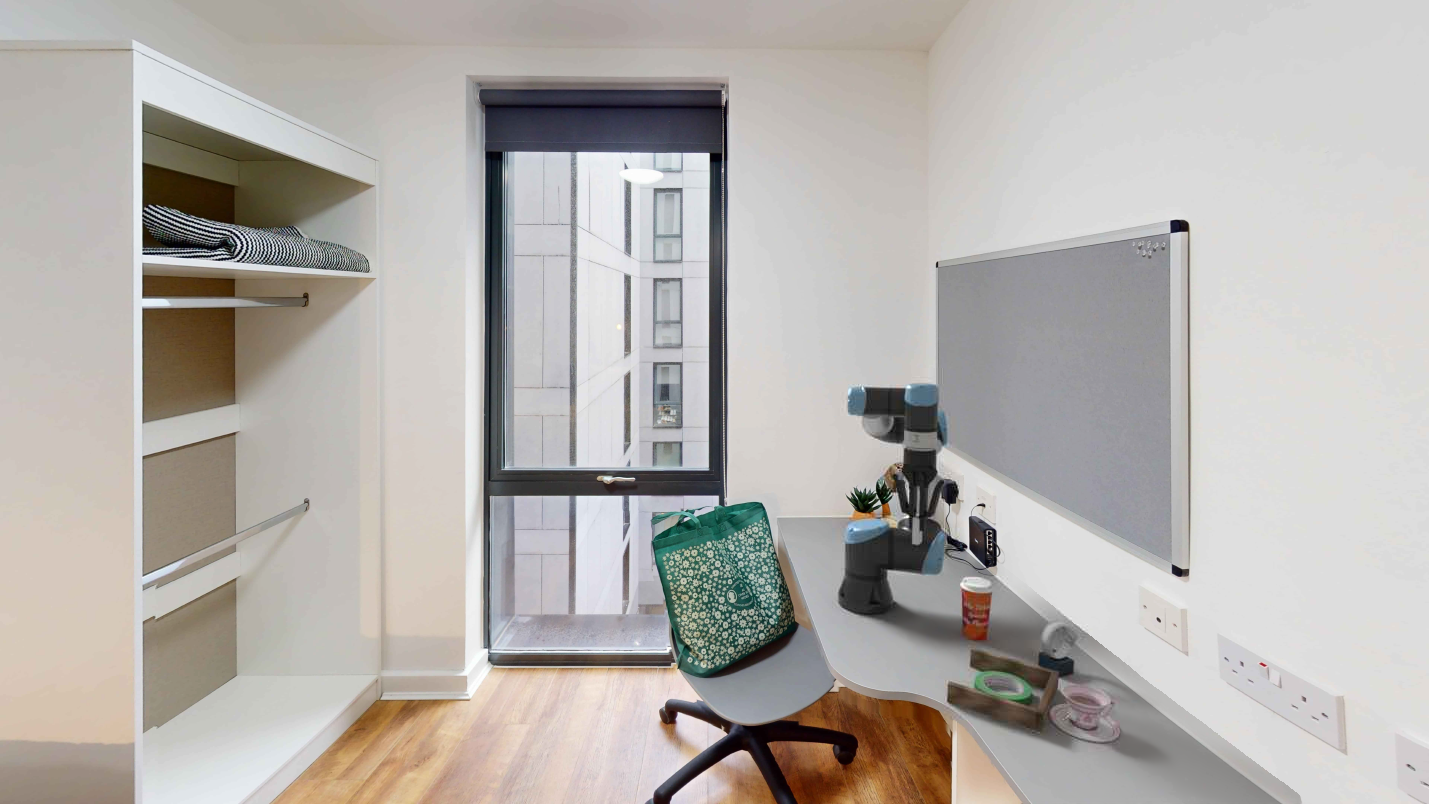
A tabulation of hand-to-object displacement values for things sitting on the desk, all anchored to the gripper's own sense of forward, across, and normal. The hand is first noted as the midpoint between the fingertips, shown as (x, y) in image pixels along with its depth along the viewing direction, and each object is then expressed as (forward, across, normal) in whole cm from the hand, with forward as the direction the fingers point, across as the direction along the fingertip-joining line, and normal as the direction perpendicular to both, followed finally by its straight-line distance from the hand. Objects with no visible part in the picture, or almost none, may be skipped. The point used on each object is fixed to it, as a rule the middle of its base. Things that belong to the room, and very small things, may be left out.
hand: (916, 542), depth 157 cm
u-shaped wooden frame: (+24, +24, -14) cm, 37 cm away
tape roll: (+25, +24, -14) cm, 37 cm away
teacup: (+25, +39, -15) cm, 48 cm away
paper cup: (+25, +12, +10) cm, 29 cm away
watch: (+25, +31, +4) cm, 40 cm away
